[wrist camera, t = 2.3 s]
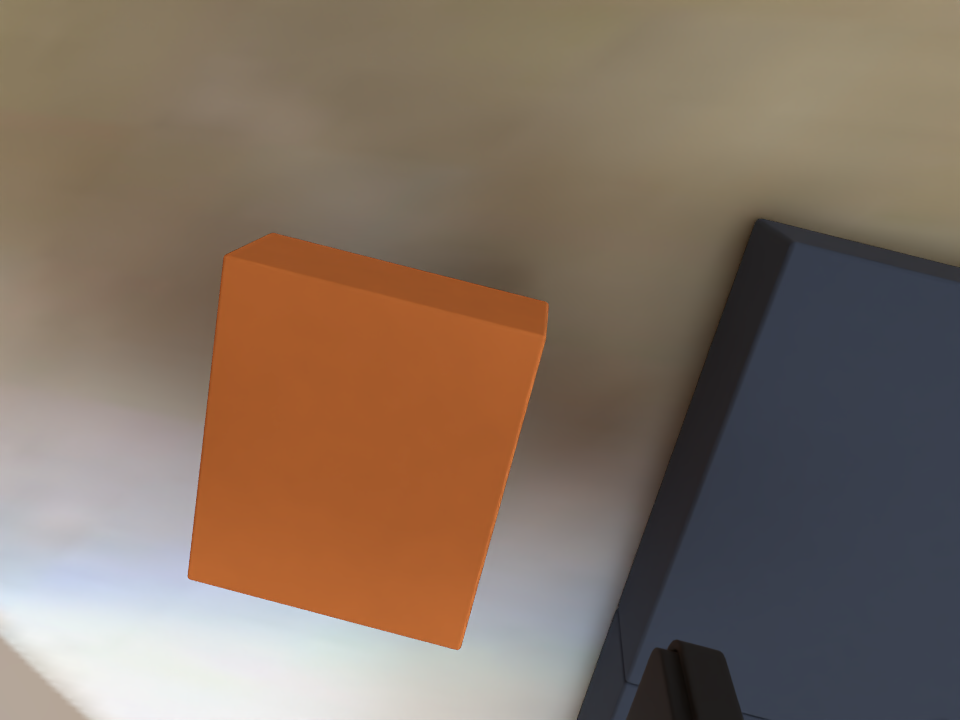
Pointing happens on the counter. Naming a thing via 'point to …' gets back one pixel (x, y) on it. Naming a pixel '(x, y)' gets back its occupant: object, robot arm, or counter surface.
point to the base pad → (812, 494)
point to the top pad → (359, 435)
